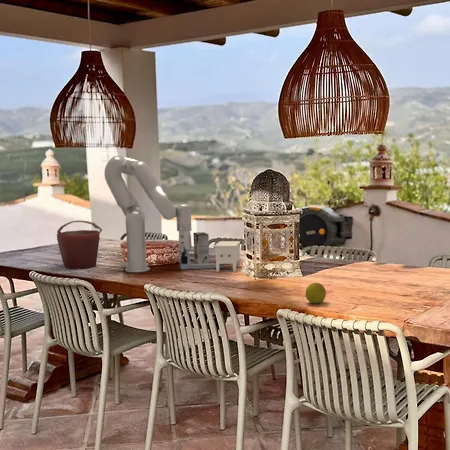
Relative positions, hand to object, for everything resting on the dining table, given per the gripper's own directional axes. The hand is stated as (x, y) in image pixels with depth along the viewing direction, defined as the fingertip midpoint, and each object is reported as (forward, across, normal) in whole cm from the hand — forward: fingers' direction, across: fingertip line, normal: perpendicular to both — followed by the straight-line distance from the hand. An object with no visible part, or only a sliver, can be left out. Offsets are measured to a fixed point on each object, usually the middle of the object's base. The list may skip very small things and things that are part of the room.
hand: (185, 262), depth 335 cm
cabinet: (+3, 0, -22) cm, 23 cm away
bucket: (+3, +5, +59) cm, 59 cm away
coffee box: (+3, +19, -5) cm, 20 cm away
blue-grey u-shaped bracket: (+3, 0, -9) cm, 9 cm away
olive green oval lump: (+3, -75, -68) cm, 101 cm away
